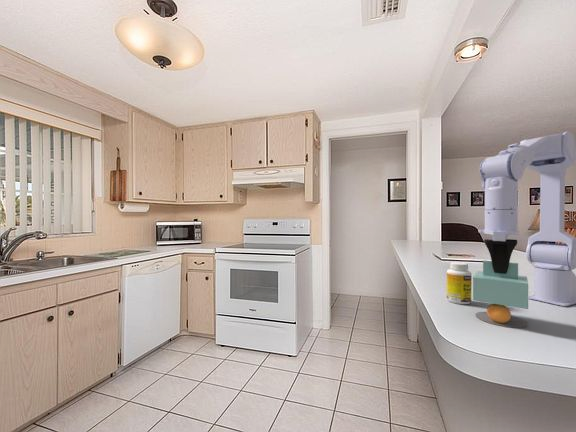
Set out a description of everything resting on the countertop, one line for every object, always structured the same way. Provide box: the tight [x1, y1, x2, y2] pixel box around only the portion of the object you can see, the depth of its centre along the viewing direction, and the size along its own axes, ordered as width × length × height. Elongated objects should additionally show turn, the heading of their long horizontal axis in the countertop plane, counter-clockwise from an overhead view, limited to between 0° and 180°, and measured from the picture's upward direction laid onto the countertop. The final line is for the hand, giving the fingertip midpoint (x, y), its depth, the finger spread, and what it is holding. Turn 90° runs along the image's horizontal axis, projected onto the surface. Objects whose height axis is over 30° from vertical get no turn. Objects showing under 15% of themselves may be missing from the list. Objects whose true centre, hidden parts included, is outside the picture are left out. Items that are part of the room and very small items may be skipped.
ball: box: [486, 303, 512, 323], centre depth 58 cm, size 4×4×4 cm
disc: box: [475, 311, 529, 329], centre depth 60 cm, size 9×9×1 cm
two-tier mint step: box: [472, 259, 529, 310], centre depth 60 cm, size 9×9×8 cm
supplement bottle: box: [446, 261, 473, 305], centre depth 73 cm, size 6×6×10 cm
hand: (500, 272), depth 60 cm, fingers closed on two-tier mint step
